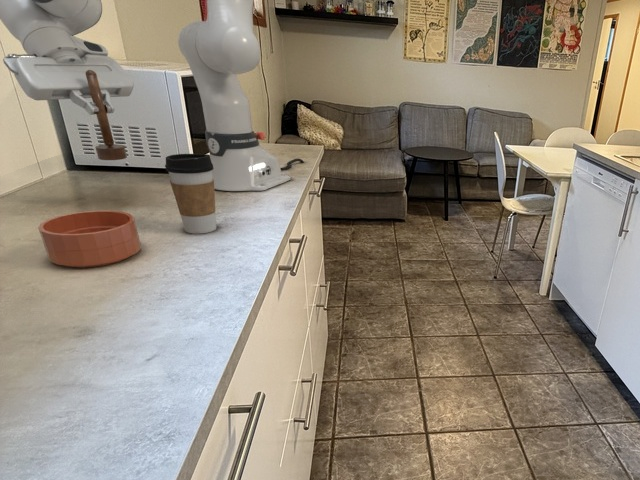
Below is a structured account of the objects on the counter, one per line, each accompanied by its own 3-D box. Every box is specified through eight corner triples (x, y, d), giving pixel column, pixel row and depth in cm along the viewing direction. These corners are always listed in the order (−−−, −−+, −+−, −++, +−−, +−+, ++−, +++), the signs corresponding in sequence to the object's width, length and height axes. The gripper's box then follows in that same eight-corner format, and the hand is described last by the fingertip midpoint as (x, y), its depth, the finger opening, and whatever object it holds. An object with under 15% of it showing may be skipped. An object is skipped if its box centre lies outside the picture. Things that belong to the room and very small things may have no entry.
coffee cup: (205, 238, 93) (192, 161, 87) (168, 232, 95) (151, 156, 88) (231, 225, 101) (221, 153, 94) (196, 220, 102) (183, 149, 95)
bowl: (110, 236, 91) (102, 206, 88) (158, 250, 86) (151, 219, 84) (32, 258, 80) (20, 224, 77) (82, 276, 75) (71, 240, 73)
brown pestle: (116, 154, 105) (94, 69, 97) (132, 157, 103) (111, 71, 95) (92, 158, 101) (67, 68, 93) (108, 161, 99) (84, 70, 91)
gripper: (-1, 41, 86) (50, 104, 87) (111, 46, 103) (153, 99, 104) (-6, 66, 89) (43, 126, 91) (103, 67, 106) (143, 118, 107)
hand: (102, 112), depth 97 cm, fingers closed on brown pestle
